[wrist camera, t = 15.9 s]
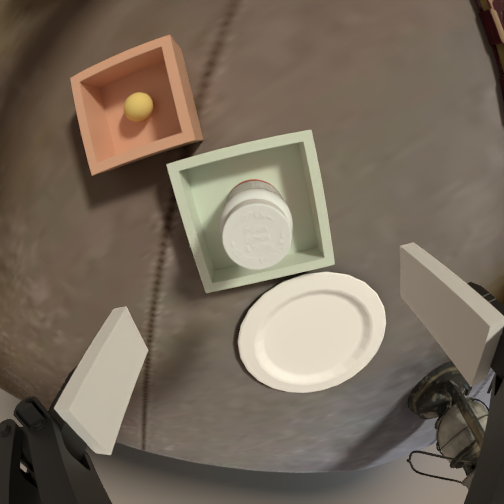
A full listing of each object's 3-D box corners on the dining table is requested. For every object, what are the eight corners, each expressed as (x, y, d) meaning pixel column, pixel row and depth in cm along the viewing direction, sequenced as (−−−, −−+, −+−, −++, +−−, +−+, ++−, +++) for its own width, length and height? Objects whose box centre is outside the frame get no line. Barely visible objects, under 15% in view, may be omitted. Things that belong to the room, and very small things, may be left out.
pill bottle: (275, 237, 34) (288, 283, 23) (221, 227, 33) (209, 269, 22) (288, 184, 31) (308, 206, 21) (231, 172, 31) (222, 189, 20)
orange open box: (94, 84, 27) (70, 77, 22) (181, 50, 26) (169, 34, 21) (114, 169, 31) (91, 175, 26) (203, 140, 30) (195, 139, 25)
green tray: (175, 161, 31) (166, 164, 27) (303, 130, 30) (311, 129, 26) (209, 277, 36) (205, 293, 32) (325, 251, 35) (334, 264, 31)
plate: (222, 373, 42) (221, 381, 40) (264, 247, 35) (265, 252, 33) (344, 392, 45) (346, 399, 43) (405, 287, 38) (411, 292, 36)
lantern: (464, 393, 48) (520, 487, 20) (392, 434, 51) (432, 541, 23) (467, 341, 42) (551, 454, 14) (380, 391, 45) (438, 534, 17)
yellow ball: (127, 100, 27) (115, 97, 24) (153, 90, 27) (144, 85, 24) (133, 126, 29) (122, 125, 26) (159, 116, 28) (151, 114, 25)
